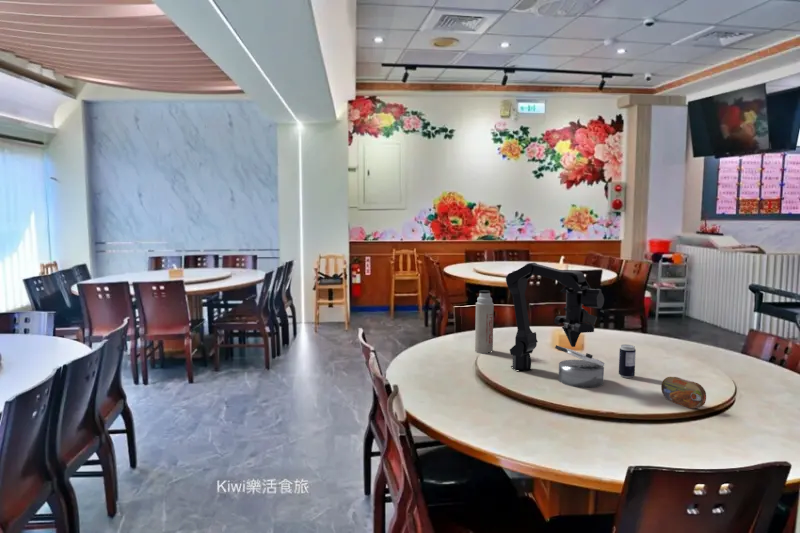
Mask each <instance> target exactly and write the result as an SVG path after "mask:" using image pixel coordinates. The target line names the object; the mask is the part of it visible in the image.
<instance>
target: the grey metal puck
mask: <svg viewBox="0 0 800 533" xmlns="http://www.w3.org/2000/svg"><path fill="white" fill-rule="evenodd" d="M604 372H605V367H604V366H600V365H596V364H593V363H590V362H588V361H585V360H582V359H567V360H566V359H565V360H561V361H559V362H558V379H559V380H558V382H559V383H561V382H562V384H564V385H567V386H569V387H575V388H582V389H583V388H585V389H592V388H599V387H602V386H603V385H604V376H605V375H604Z"/></svg>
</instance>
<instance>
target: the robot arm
mask: <svg viewBox="0 0 800 533" xmlns="http://www.w3.org/2000/svg"><path fill="white" fill-rule="evenodd" d="M533 275H536V276H538V277H539V276H540V277H543V278H547V279H549V280H555V281H557V282H559V283H560V284H561V285H562V286H564V288H562V289H561V290H560V293H563V294H564V293H565V307H563V311H565V315H557V316H556V317H555V318H554V324H556V325H560V324H563V326H562V327H561V329H562V330H563V331H564V334H565V335H566V338H567V339H568V340H567V341H568V342H569V344H570V346H571V347H572V348H575V347H576V346H577V345H576V344H577V342H578V340H579V337H580V336H581V334H582V333H595V324H596V321H597V319H598V317H597V316H596V315H593V314H590V313H589V311H588V310H586V309H585V308H594V309H602V308H603V306H604V303H605V297H604V294H603V293H602V289H601V288H596V289H595V288H591V286H590V284H589V283H588V281H587V280H586V276H585V275H584V273H583V272H582V271H580V270H562V269H558V268H554V267H550V266H546V265H543V264H538V263H536V262H528V263H526V264H525V265H523V266H522V267H520V268H519V269H516V270H514V271H512V272H509V273H508V274H507V275H506V277H505V282H506V286H507V288H508V291H509V292H510V293H511V295H512V300H513V307H514V313H515V320H516V327H517V328H516V329H517V332H516V335H515V338H514V339H515V344H514V345H513V346H512V347H511V348H510V349H509V353H510V355H511V356H512V365H511V366H510V368H511V367H513V368H514V369H515V370H514V369H513V368H512V369H513V370H514V371H516V370H531V371H533V368H532V357H531V354H533V351H534V350H535V349H536V347H537V343H538V342H539V341H538V339H537V332H533V331H532V329H531V326H530V321H529V312H528V306H527V300H526V292H527V291H526V290H527V287H528V280H529V279H530V278H532V276H533ZM583 306H584V307H585V308H583Z"/></svg>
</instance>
